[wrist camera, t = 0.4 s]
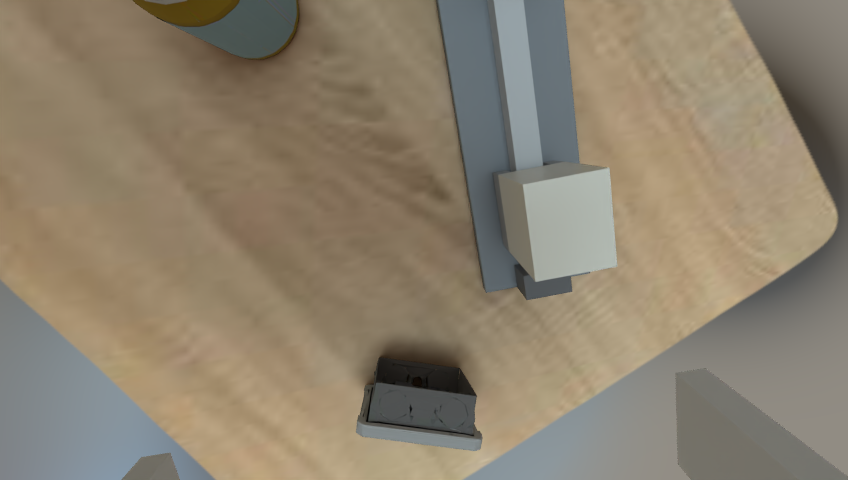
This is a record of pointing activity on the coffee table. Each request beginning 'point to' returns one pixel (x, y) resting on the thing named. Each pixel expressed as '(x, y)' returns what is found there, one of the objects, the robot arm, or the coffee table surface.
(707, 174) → the coffee table surface
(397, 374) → the electrical switch
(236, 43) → the bottle
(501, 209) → the carriage
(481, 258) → the rail bench
